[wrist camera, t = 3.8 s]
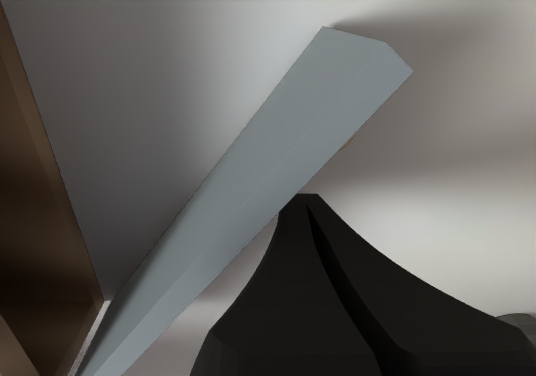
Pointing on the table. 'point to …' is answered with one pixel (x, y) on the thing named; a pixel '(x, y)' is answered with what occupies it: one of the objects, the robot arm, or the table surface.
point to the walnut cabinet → (37, 240)
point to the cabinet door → (249, 187)
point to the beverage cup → (522, 324)
